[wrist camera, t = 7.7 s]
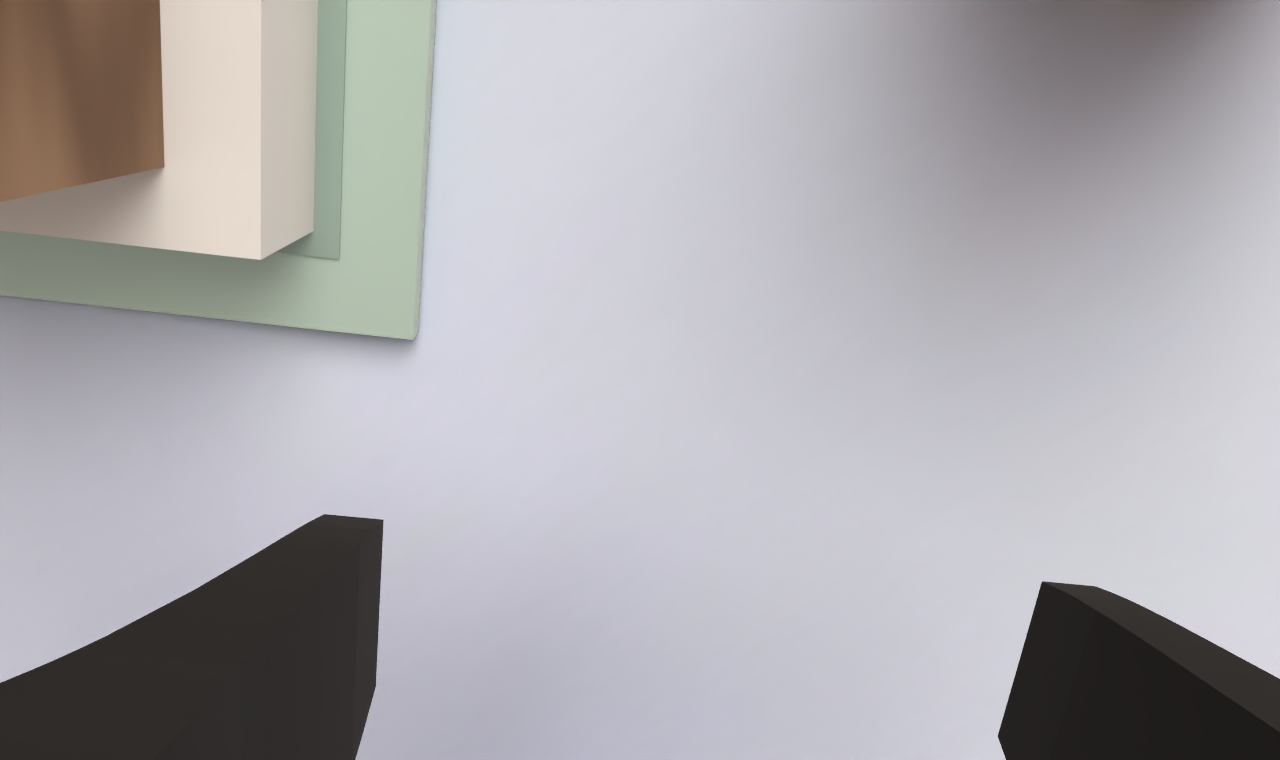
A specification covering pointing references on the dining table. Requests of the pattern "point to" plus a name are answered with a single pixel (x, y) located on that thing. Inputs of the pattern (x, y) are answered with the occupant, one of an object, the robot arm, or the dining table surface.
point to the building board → (343, 205)
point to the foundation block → (211, 141)
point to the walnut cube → (78, 93)
